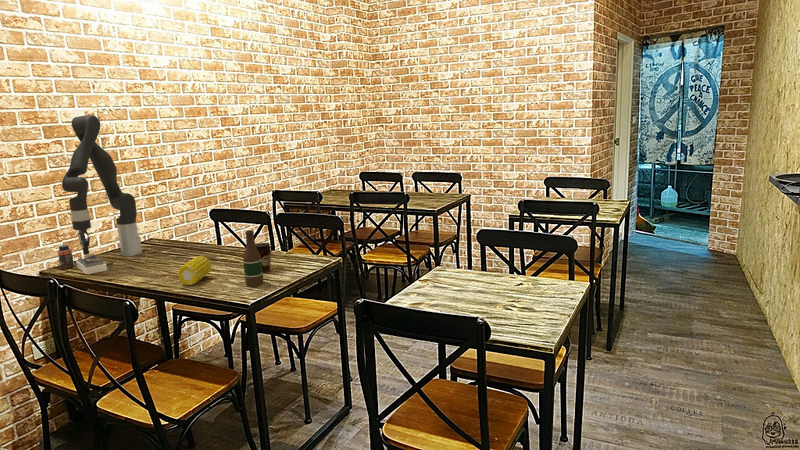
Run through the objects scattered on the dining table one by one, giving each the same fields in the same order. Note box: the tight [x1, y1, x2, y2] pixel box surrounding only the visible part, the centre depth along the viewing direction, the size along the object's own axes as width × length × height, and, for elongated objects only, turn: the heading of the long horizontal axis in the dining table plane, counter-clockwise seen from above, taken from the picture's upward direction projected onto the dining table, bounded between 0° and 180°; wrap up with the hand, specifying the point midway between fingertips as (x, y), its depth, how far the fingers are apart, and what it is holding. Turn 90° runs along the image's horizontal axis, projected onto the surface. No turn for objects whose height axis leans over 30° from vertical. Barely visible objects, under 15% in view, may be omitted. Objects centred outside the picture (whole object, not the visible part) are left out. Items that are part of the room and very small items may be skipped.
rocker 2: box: [85, 258, 101, 264], centre depth 257 cm, size 6×4×2 cm
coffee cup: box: [255, 242, 272, 274], centre depth 248 cm, size 9×8×13 cm
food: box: [177, 255, 212, 286], centre depth 238 cm, size 15×12×10 cm
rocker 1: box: [79, 252, 97, 260], centre depth 264 cm, size 6×4×2 cm
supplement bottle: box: [57, 244, 75, 270], centre depth 263 cm, size 6×6×11 cm
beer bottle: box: [242, 229, 264, 287], centre depth 229 cm, size 8×8×24 cm
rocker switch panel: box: [75, 254, 114, 275], centre depth 263 cm, size 14×18×5 cm
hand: (86, 254), depth 255 cm, fingers closed
